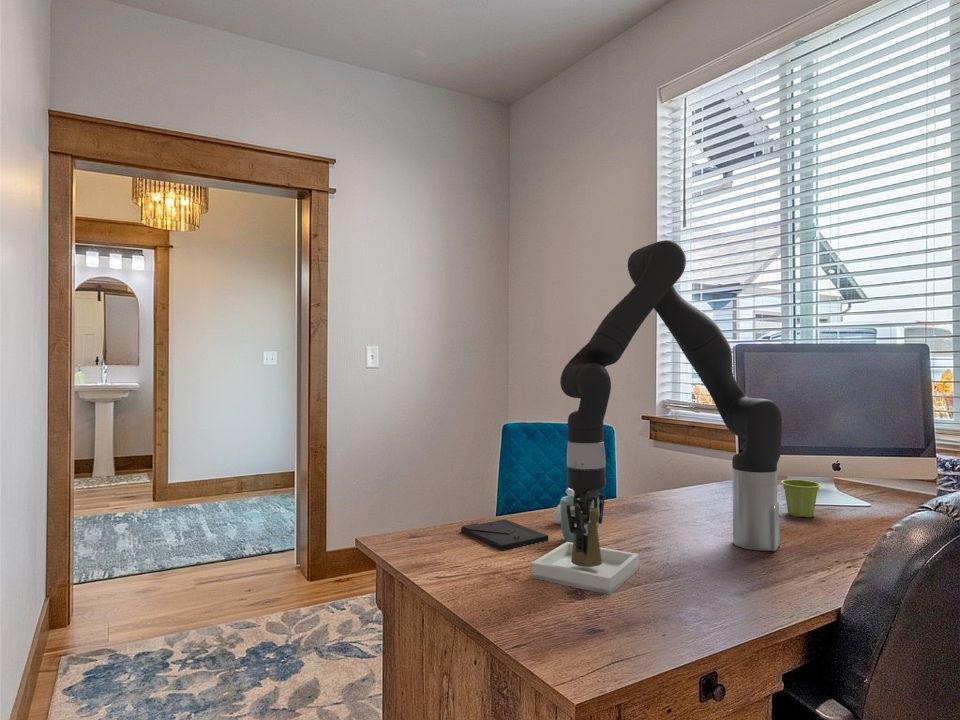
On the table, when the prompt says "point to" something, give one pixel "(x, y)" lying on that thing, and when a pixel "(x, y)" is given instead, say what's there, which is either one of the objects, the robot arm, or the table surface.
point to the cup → (566, 518)
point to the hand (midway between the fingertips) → (587, 550)
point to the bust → (557, 512)
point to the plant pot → (800, 497)
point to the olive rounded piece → (589, 545)
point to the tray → (586, 569)
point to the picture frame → (503, 534)
